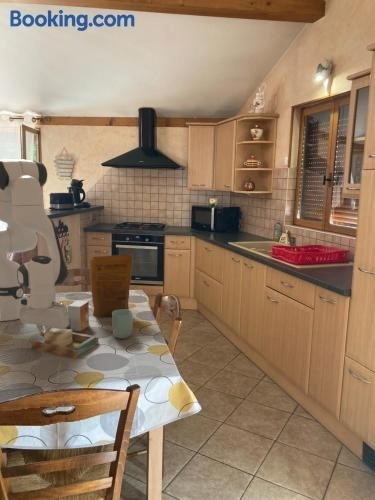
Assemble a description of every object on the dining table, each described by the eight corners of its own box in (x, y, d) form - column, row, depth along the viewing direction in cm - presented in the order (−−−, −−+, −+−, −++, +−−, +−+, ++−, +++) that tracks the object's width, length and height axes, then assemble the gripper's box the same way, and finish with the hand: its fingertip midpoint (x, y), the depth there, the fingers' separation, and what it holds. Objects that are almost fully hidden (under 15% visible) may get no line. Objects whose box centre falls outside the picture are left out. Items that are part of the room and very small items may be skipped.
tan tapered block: (44, 347, 142) (44, 334, 141) (59, 339, 149) (58, 327, 149) (58, 350, 140) (57, 337, 139) (72, 342, 147) (72, 329, 146)
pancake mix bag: (133, 316, 177) (133, 255, 172) (90, 319, 172) (89, 256, 167) (131, 311, 183) (132, 252, 179) (89, 314, 178) (88, 253, 174)
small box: (80, 332, 157) (80, 306, 155) (67, 330, 158) (67, 305, 156) (89, 325, 165) (89, 301, 163) (77, 324, 166) (76, 300, 164)
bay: (30, 348, 140) (30, 340, 140) (56, 335, 153) (56, 327, 153) (75, 358, 134) (75, 349, 133) (98, 343, 147) (98, 335, 146)
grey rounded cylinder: (61, 334, 154) (61, 315, 152) (66, 332, 156) (65, 313, 155) (67, 336, 153) (67, 316, 151) (72, 333, 155) (72, 314, 154)
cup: (113, 341, 149) (113, 316, 147) (111, 333, 156) (111, 309, 154) (133, 339, 151) (133, 314, 149) (131, 332, 158) (131, 308, 156)
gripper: (72, 301, 143) (73, 337, 146) (27, 295, 150) (29, 329, 153) (60, 306, 137) (62, 344, 140) (15, 299, 145) (17, 335, 147)
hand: (44, 336), depth 146 cm, fingers closed
